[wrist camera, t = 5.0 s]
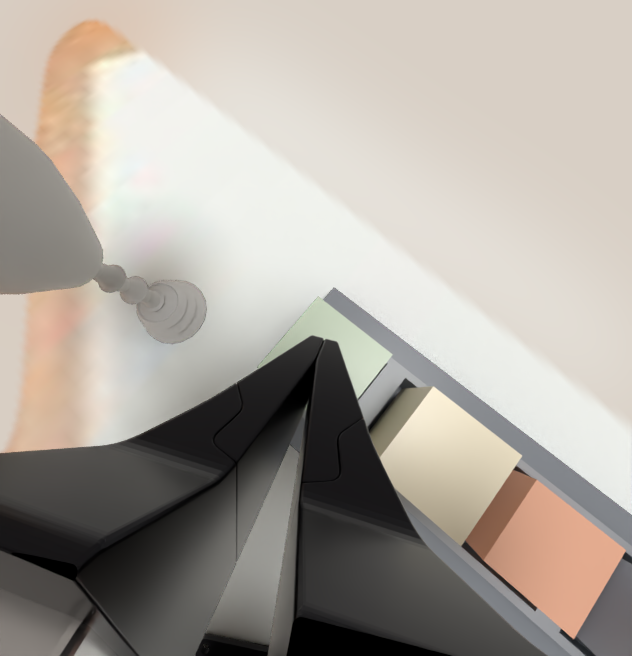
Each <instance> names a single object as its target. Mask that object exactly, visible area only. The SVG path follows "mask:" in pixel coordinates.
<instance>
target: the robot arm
mask: <svg viewBox="0 0 632 656" xmlns="http://www.w3.org/2000/svg"><path fill="white" fill-rule="evenodd" d="M307 403H308V404H307ZM306 406H307V410H306V415H305V421H304V428H303V434H302V440H301V447H300V453H299V460H298V466H297V472H296V479H295V485H294V491H293V498H292V504H291V510H290V517H289V523H288V530H287V536H286V542H285V549H284V555H283V561H282V568H281V574H280V580H279V587H278V593H277V600H276V606H275V612H274V619H273V625H272V631H271V638H270V644H269V647H268V646H264V645H259V644H254V643H250V642H245V641H240V640H236V639H231V638H226V637H222V636H217V635H212V634H205V632H206V630H207V627H208V625H209V623H210V621H211V618H212V616H213V614H214V612H215V610H216V607H217V605H218V603H219V601H220V598H221V596H222V594H223V592H224V590H225V587H226V585H227V583H228V581H229V578H230V576H231V574H232V572H233V570H234V567H235V565H236V561H237V560H238V558H239V556H240V554H241V552H242V549H243V547H244V545H245V543H246V540H247V538H248V536H249V534H250V531H251V529H252V527H253V525H254V523H255V520H256V518H257V516H258V514H259V511H260V509H261V507H262V505H263V503H264V500H265V498H266V496H267V494H268V491H269V489H270V487H271V485H272V483H273V480H274V478H275V476H276V474H277V471H278V469H279V467H280V465H281V462H282V460H283V458H284V456H285V454H286V451H287V449H288V447H289V445H290V442H291V440H292V438H293V436H294V434H295V431H296V429H297V427H298V425H299V422H300V420H301V418H302V416H303V413H304V411H305V409H306ZM204 634H205V635H204ZM204 644H207V645H208V646H209V648H208V649H206V648H205V647H204ZM0 656H548V655H547V654H545V653H544V652H542V651H541V650H540V649H538V648H537V647H536V646H534V645H533V644H532V643H530V642H529V641H528V640H527V639H526V638H525V637H524V636H522V635H521V634H520V633H519V632H518V631H517V630H516V629H514V628H513V627H512V626H511V625H510V624H509V623H508V622H507V621H506V620H505V619H504V618H503V617H502V616H501V615H500V614H499V613H497V612H496V611H495V610H494V609H493V608H492V607H491V606H490V605H489V604H488V603H487V602H486V601H485V600H484V599H483V598H482V597H481V596H480V595H478V594H477V593H476V592H475V591H474V590H473V589H472V588H471V587H470V586H469V585H468V584H467V583H466V582H465V581H464V580H463V579H462V578H461V577H459V576H458V575H457V574H456V573H455V572H454V571H453V570H452V569H451V568H450V567H449V566H448V565H447V564H446V563H445V562H444V561H443V560H441V559H440V558H439V557H438V556H437V555H436V554H435V553H434V552H433V551H432V550H431V549H430V548H429V547H428V545H427V544H426V543H425V542H424V541H423V539H422V538H421V536H420V535H419V534H418V532H417V530H416V529H415V527H414V526H413V524H412V522H411V520H410V518H409V516H408V514H407V512H406V510H405V508H404V506H403V504H402V502H401V500H400V498H399V496H398V494H397V492H396V490H395V488H394V486H393V484H392V482H391V480H390V478H389V476H388V474H387V472H386V470H385V468H384V466H383V464H382V462H381V460H380V457H379V455H378V453H377V451H376V449H375V446H374V444H373V441H372V439H371V436H370V434H369V431H368V428H367V425H366V422H365V420H364V417H363V414H362V411H361V408H360V405H359V402H358V399H357V396H356V393H355V390H354V388H353V385H352V382H351V379H350V376H349V373H348V370H347V367H346V364H345V361H344V358H343V355H342V353H341V350H340V347H339V344H338V342H337V341H333V340H329V339H325V340H324V339H323V338H321V337H318V336H314V335H311V336H309V337H308V338H306V339H304V340H303V341H301V342H300V343H298V344H297V345H295V346H293V347H292V348H290V349H289V350H287V351H286V352H284V353H282V354H281V355H279V356H278V357H276V358H275V359H273V360H271V361H270V362H268V363H267V364H265V365H264V366H262V367H260V368H259V369H257V370H256V371H254V372H253V373H251V374H249V375H248V376H246V377H245V378H243V379H242V380H240V381H238V382H237V384H234V385H232V386H230V387H229V388H227V389H226V390H224V391H222V392H221V393H219V394H217V395H216V396H214V397H212V398H211V399H209V400H207V401H205V402H203V403H201V404H199V405H198V406H196V407H194V408H192V409H190V410H188V411H186V412H184V413H182V414H180V415H178V416H176V417H174V418H172V419H170V420H168V421H166V422H164V423H162V424H160V425H158V426H156V427H154V428H152V429H150V430H148V431H146V432H144V433H142V434H140V435H137V436H135V437H133V438H130V439H128V440H125V441H122V442H118V443H115V444H109V445H102V446H91V447H77V448H64V449H51V450H37V451H24V452H11V453H0Z"/></svg>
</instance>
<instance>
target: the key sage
mask: <svg viewBox="0 0 632 656" xmlns="http://www.w3.org/2000/svg"><path fill="white" fill-rule="evenodd" d="M311 335H314V336H318V337H321V338H323V339H324V340H325V339H329V340H333V341H337V342H338V344H339V347H340V350H341V353H342V355H343V358H344V361H345V364H346V367H347V370H348V373H349V376H350V379H351V382H352V385H353V388H354V390H355V393H356V396H357V399H358V398H359V397H360V395H361V394H362V393H363V392H364V390H365V389H366V388H367V387H368V385H369V384H370V383H371V382H372V380H373V379H374V378H375V377H376V375H377V374H378V373H379V371H380V370H381V369H382V368H383V366H384V365H385V364H386V363H387V361H388V360H389V359H390V358H391V356H392V355H393V354H392V353H390V352H389V351H388V350H386V349H385V348H384V347H383V346H381V345H380V344H379V343H377V342H376V341H375V340H374V339H372V338H371V337H370V336H369V335H367V334H366V333H365V332H363V331H362V330H361V329H360V328H358V327H357V326H356V325H354V324H353V323H352V322H351V321H349V320H348V319H347V318H346V317H344V316H343V315H342V314H340V313H339V312H338V311H337V310H335V309H334V308H333V307H331V306H330V305H329V304H328V303H326V302H325V301H324V300H322V299H321V298H320V297H319V296H318V297H317V298H316V299H315V301H314V302H313V303H312V304H311V305H310V306H309V308H308V309H307V310H306V311H305V312H304V313H303V315H302V316H301V317H300V318H299V319H298V320H297V322H296V323H295V324H294V325H293V326H292V327H291V328H290V330H289V331H288V332H287V333H286V334H285V335H284V337H283V338H282V339H281V340H280V341H279V342H278V344H277V345H276V346H275V347H274V348H273V349H272V350H271V352H270V353H269V354H268V355H267V356H266V357H265V359H264V360H263V361H262V362H261V363H260V364H259V366H258V367H257V368H258V369H259V368H260V367H262V366H264V365H265V364H267V363H268V362H270V361H271V360H273V359H275V358H276V357H278V356H279V355H281V354H282V353H284V352H286V351H287V350H289V349H290V348H292V347H293V346H295V345H297V344H298V343H300V342H301V341H303V340H304V339H306V338H308V337H309V336H311ZM307 404H308V403H307ZM305 410H307V406H306V409H305Z"/></svg>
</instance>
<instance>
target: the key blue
mask: <svg viewBox="0 0 632 656" xmlns="http://www.w3.org/2000/svg"><path fill="white" fill-rule="evenodd" d="M576 636H577V637H578V638H579V639H580V640H581V641H582V642H583V643H584V644H585V645H586V646H587V647H588V648H589V649H590V650H591V651H592V652H593V653H594V654H595V655H596V656H632V564H631V563H629V562H627V561H625V560H624V559H622V558H621V560H620V562H619V563H618V565H617V567H616V568H615V570H614V572H613V574H612V575H611V577H610V579H609V580H608V582H607V584H606V585H605V587H604V589H603V591H602V592H601V594H600V596H599V597H598V599H597V601H596V602H595V604H594V606H593V607H592V609H591V611H590V613H589V614H588V616H587V618H586V619H585V621H584V623H583V624H582V626H581V628H580V630H579V631H578V633H577V635H576Z"/></svg>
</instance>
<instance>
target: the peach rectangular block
mask: <svg viewBox="0 0 632 656" xmlns="http://www.w3.org/2000/svg"><path fill="white" fill-rule="evenodd" d="M465 541H466V542H467V543H468V544H469V545H470V546H471V547H472V548H473V550H474V551H475V552H476V553H477V554H478V555H479V556H480V557H481V558H482V559H483V561H485V562H486V563H487V564H488V565H489V566H490V567H491V568H493V569H494V570H495V571H496V572H497V573H498V574H499V575H501V576H502V577H503V578H504V579H505V580H506V581H507V582H509V583H510V584H511V585H512V586H513V587H514V588H515V589H517V590H518V591H519V592H520V593H521V594H522V595H524V596H525V597H526V598H527V599H528V600H529V601H530V602H532V603H533V604H534V605H535V606H536V607H537V608H538V609H540V610H541V611H542V612H543V613H544V614H545V615H546V616H548V617H549V618H550V619H551V620H552V621H553V622H554V623H556V624H557V625H558V626H559V627H560V628H561V629H562V630H564V631H565V632H566V633H567V634H568V635H569V636H570V637H572V638H573V639H574V638H575V636H576V635H577V633H578V631H579V630H580V628H581V626H582V624H583V623H584V621H585V619H586V618H587V616H588V614H589V613H590V611H591V609H592V607H593V606H594V604H595V602H596V601H597V599H598V597H599V596H600V594H601V592H602V591H603V589H604V587H605V585H606V584H607V582H608V580H609V579H610V577H611V575H612V574H613V572H614V570H615V568H616V567H617V565H618V563H619V562H620V560H621V558H622V557H623V555H624V553H625V552H626V550H625V549H624V548H623V547H622V546H620V545H619V544H618V543H616V542H615V541H614V540H613V539H611V538H610V537H609V536H608V535H606V534H605V533H604V532H603V531H601V530H600V529H599V528H598V527H596V526H595V525H594V524H592V523H591V522H590V521H589V520H587V519H586V518H585V517H584V516H582V515H581V514H580V513H579V512H577V511H576V510H575V509H573V508H572V507H571V506H570V505H568V504H567V503H566V502H565V501H563V500H562V499H561V498H560V497H558V496H557V495H556V494H554V493H553V492H552V491H551V490H549V489H548V488H547V487H546V486H544V485H543V484H542V483H541V482H539V481H538V480H537V479H534V478H532V477H529V476H527V475H525V474H522V473H520V472H518V471H515V470H512V472H511V473H510V475H509V476H508V478H507V479H506V481H505V482H504V484H503V485H502V487H501V488H500V490H499V491H498V493H497V494H496V496H495V497H494V499H493V500H492V501H491V503H490V504H489V506H488V507H487V509H486V510H485V512H484V513H483V515H482V516H481V518H480V519H479V521H478V522H477V524H476V525H475V527H474V528H473V530H472V531H471V533H470V534H469V535H468V537H467V538H466V540H465Z"/></svg>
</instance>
